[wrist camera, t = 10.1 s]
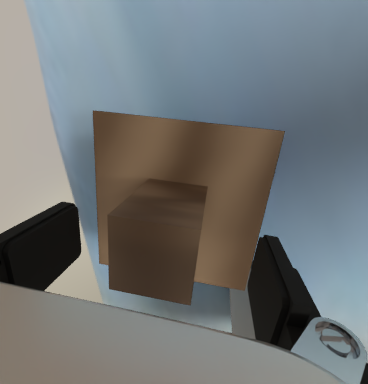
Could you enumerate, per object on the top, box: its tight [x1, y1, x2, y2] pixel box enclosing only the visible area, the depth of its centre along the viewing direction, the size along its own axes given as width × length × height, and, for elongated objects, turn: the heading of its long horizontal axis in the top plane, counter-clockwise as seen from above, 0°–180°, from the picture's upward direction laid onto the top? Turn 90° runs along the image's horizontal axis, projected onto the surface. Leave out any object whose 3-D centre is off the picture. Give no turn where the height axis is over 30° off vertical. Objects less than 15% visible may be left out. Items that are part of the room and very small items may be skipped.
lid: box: [93, 111, 285, 305], centre depth 13 cm, size 12×12×7 cm
